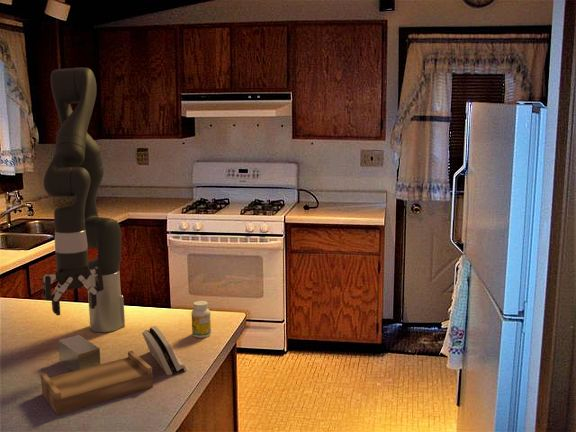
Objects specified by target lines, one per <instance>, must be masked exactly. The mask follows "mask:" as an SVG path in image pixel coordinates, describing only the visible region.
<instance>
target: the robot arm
mask: <svg viewBox="0 0 576 432" xmlns="http://www.w3.org/2000/svg"><path fill="white" fill-rule="evenodd" d="M50 86H51V92H52V96H53V101H54V105H55V108H56V111H57V115H58V119H59V123H60V127H59V129H58V130H57V134H56V138H55V140H56V141H55V150H54V155H53V157H52V159H51V162H50V163H49V165H48V167H47V170H46V171H45V174H44V176H43V189H44V190H45V192H46V194H48V195H49V196H50V197H55V198H57V197H59V198H60V197H62V198H63V197H66V198H67V197H73V199H74V200H73V202H72V203H71V204H65V205H60V206H58V207H56V208H55V210H54V212H53V220H54V221H53V222H54V249H55V250H54V251H55V252H54V253H55V266H56V269H55V273H53V274H46V273H44V274H43V275H42V296H43V298H44V299H45V300H46V301H51V308H52V309H51V311H52V312H53V313H54V314H55V315H56V316H61V303H60V302H61V301H60V298H61V296H62V295H63V294H64V293H65V292H66V290H73V289H81V288H82V287H84V288H86V290H87V297H88V298H87V299H88V313H89V327H90V330H91V331H93V332H95V333H108V332H109V333H110V332H114V331H117V330H119V329H121V328H124V327H126V322H125V321H126V320H125V318H126V317H125V302H124V295H123V294H122V291H121V276H120V275H121V273H120V264H121V261H122V260H121V259H122V230H121V229H122V228H121V226H120V224H119V221H117V220H116V219H114V218H110V217H103V216H101V217H100V216H99V215H98V210H97V209H98V208H97V195H98V191H99V189H100V186H101V184H102V180H103V177H104V173H105V172H104V171H105V170H104V165H103V164H104V163H103V157H102V151H101V148H100V146H99V145H98V143H97V142H96V141H95V139H93V137H92V136H91V135H90V134H89V133H88V128H89V124H90V121H91V119H92V118H91V117H92V115H93V110H94V106H95V102H96V98H97V89H98V88H97V81H96V77H95V74H94V72H93V70H92V69H90V67H73V68H70V67H69V68H60V69H58V68H57V69H53V70H52V71H51V73H50ZM71 104H77V105H76V107H75V108H74V109H73V107H72V105H71ZM88 248H90V249H97V258H94V259H91V260H89V255H88V254H89V250H88ZM55 280H56V281H57V282H58V283H57V285H56V286H55V288H54V290H53V291H52V286H51V285H52V284H53V283H54V281H55Z"/></svg>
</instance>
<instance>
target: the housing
mask: <svg viewBox="0 0 576 432" xmlns="http://www.w3.org/2000/svg"><path fill="white" fill-rule="evenodd" d="M100 349H101V348H100V347H98V346H97V345H95V344H94V343H92V342H91V341H89V340H87V339H86V338H84V337H83V336H81V335H80V334H77V335H74V336H73V335H72V336H70V337H65V338H61V339H59V340H58V352H59V362H60V363H61V364H62V365H64V366H65V365H66V366H65V367H66V368H68V369H69V370H70V369H71V370H70V371H71V372H73V371H77V370H81V369H85V368H89V367H92V366H96V365H100V364H102V363H101V352H100V351H101V350H100Z"/></svg>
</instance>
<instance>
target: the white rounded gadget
mask: <svg viewBox="0 0 576 432" xmlns="http://www.w3.org/2000/svg"><path fill="white" fill-rule="evenodd" d="M141 334H142V336H143V339H144V341H145V343H146V346H147V348H148V351H149V352H150V354H151V353H152V354H151V355H152V357H153V358H155V359H154V360H155V361H156V362H157V363H158V364H159V366H160V367H161V368H162V370H163V371H164V373H165V374H166V375H167V376H172V375H173V373H174V371H176V372H179V371H180V370H181V369H182V370H183V371H184V372H185V371H186V372H188V370H187V368H186V365H184V363H183V362H182V360H181V359H180V358H179V357H178V356H177V355H176V354H175V352H174V350H173V348H172V345H171V344H170V343H169V341H168V339H167V338H166V337H165V335H164V333H162V331H161V330H160V329H159V328H158V327H157V326H156V325H154V326H151V327H150V328H149V329H145V330H144V331H142V332H141Z"/></svg>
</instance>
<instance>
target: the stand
mask: <svg viewBox="0 0 576 432" xmlns="http://www.w3.org/2000/svg"><path fill="white" fill-rule="evenodd" d="M127 354H128V355H127V357H125V358H121V359H116V360H113V361H108V362H105V363H101V364H100V365H96V366H92V367H89V368H85V369H81V370H77V371H70V372H66V373H63V374H59V375H54V376H51V377H49V375H48V374H47V373H46V372H43V373H40V381H41V383H40V384H41V393H42V396H43V397H44V398H45V400H46V401H47V402H48V404H49V405H50V407H51V408H52V410H53V411H54V413H55V414H56V415H57V416H60V415H63V414H67V413H70V412H73V411H74V412H75V411H76V410H80V409H84V408H87V407H90V406H93V405H97V404H101V403H104V402H108V401H111V400H113V399H118V398H120V397H121V398H122V397H124V396H127V395H128V396H129V395H130V394H133V393H137V392H141V391H143V390H144V391H145V390H147V389H151V388H153V387H154V384H153V367H152V366H151V365H150V364H148V363H147V362H146V361H145V360H144V359H142V358H141V357H140V356H139V355H138V354H136V353H135V352H134V351H133V350H129V351H127Z"/></svg>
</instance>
